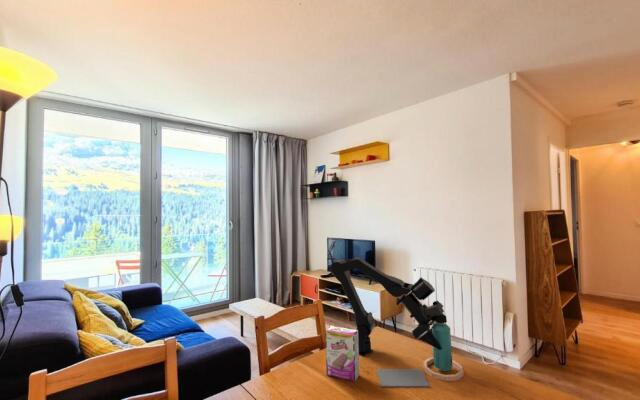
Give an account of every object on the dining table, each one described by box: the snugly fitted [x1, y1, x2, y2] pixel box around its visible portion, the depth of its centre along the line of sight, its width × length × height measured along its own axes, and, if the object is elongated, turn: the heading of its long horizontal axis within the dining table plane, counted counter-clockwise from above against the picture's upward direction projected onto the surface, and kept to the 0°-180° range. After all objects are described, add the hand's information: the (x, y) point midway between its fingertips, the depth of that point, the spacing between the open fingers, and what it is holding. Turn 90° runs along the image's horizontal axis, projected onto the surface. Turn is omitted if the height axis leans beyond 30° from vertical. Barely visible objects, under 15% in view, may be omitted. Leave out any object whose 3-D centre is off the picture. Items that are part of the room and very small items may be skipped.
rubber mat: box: [376, 368, 431, 388], centre depth 105 cm, size 16×10×1 cm, turn 87°
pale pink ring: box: [423, 356, 464, 382], centre depth 109 cm, size 13×14×2 cm
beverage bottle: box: [431, 313, 454, 372], centre depth 110 cm, size 6×7×20 cm
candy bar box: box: [325, 325, 360, 382], centre depth 108 cm, size 11×5×16 cm, turn 65°
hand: (445, 344), depth 109 cm, fingers open, 9 cm apart
